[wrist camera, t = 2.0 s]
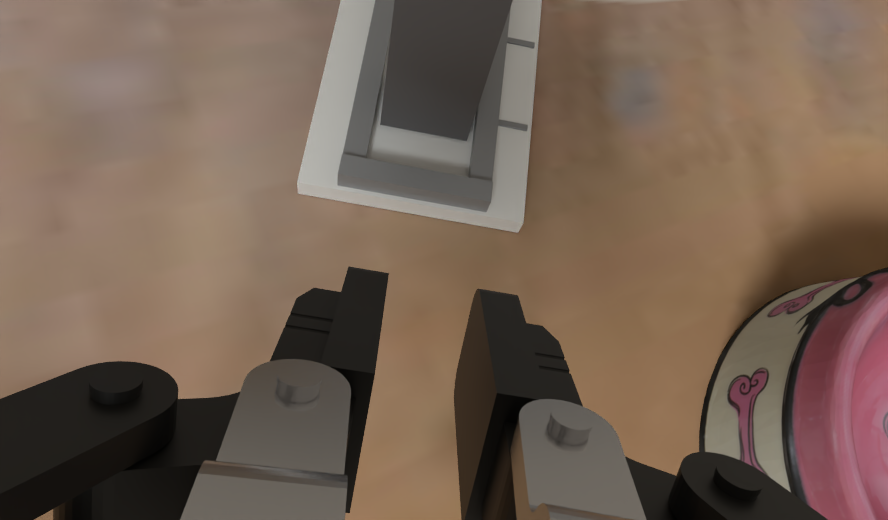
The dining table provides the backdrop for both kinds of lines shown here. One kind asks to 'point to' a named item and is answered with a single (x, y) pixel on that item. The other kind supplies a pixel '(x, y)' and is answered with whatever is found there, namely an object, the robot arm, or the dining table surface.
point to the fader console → (414, 153)
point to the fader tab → (440, 63)
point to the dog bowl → (810, 396)
